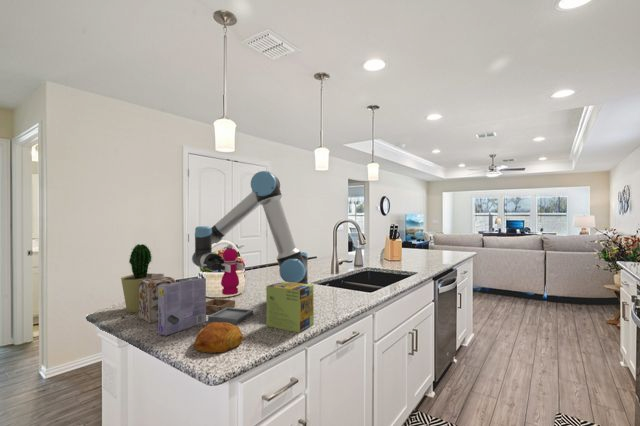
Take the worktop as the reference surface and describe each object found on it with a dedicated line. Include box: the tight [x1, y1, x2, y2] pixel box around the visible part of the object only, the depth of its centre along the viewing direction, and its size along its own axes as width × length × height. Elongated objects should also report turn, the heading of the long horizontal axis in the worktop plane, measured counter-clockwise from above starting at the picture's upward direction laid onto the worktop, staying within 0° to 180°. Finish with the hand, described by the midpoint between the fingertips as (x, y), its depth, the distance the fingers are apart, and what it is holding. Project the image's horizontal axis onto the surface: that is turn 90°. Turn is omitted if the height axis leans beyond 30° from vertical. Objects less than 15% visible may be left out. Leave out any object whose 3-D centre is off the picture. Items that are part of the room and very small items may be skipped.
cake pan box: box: [157, 277, 207, 337], centre depth 125 cm, size 19×5×18 cm, turn 149°
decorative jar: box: [138, 273, 176, 324], centre depth 138 cm, size 12×12×18 cm
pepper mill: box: [220, 244, 240, 296], centre depth 136 cm, size 7×7×20 cm
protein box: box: [265, 281, 315, 334], centre depth 127 cm, size 10×15×16 cm
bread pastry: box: [193, 322, 244, 354], centre depth 108 cm, size 14×16×8 cm
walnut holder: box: [206, 297, 236, 314], centre depth 149 cm, size 11×11×3 cm
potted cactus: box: [120, 243, 154, 313], centre depth 150 cm, size 15×15×30 cm
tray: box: [207, 307, 254, 325], centre depth 136 cm, size 13×13×2 cm
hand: (236, 268), depth 132 cm, fingers closed on pepper mill, 5 cm apart
